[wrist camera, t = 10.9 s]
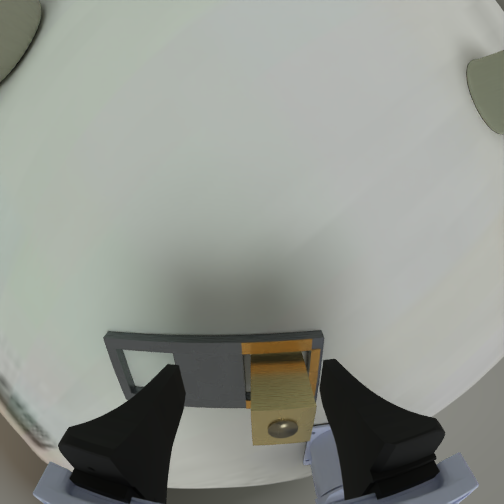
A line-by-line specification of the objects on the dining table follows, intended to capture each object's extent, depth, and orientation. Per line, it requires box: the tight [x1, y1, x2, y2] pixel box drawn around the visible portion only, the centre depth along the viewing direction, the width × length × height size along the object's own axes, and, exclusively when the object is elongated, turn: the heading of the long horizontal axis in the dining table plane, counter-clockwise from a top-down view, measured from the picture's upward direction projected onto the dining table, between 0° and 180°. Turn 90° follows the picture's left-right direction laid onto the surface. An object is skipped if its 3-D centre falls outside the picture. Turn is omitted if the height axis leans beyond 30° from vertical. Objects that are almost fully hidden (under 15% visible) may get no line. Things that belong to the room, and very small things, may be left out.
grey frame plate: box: [103, 330, 324, 409], centre depth 23 cm, size 8×20×1 cm, turn 92°
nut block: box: [251, 351, 317, 445], centre depth 20 cm, size 4×4×8 cm
